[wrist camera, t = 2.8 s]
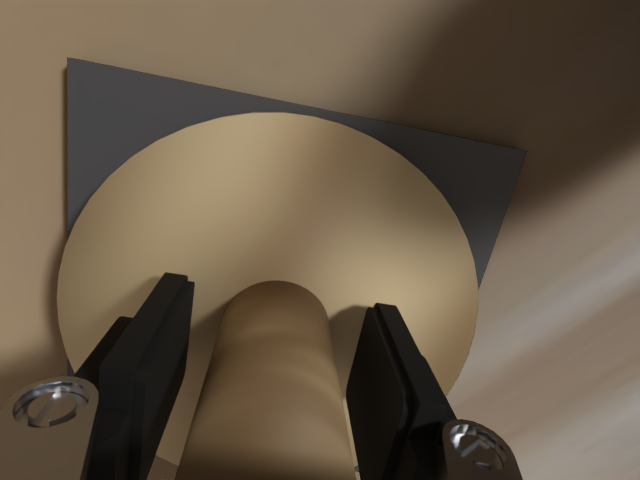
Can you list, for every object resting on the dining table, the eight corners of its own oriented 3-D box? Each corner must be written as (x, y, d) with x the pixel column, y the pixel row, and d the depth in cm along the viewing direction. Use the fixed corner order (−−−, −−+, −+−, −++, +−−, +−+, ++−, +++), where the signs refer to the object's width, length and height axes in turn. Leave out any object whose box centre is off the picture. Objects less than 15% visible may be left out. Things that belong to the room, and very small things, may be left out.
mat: (519, 149, 12) (527, 151, 11) (409, 467, 16) (412, 476, 15) (75, 58, 10) (67, 57, 10) (73, 435, 14) (68, 445, 14)
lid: (517, 157, 11) (740, 218, 6) (408, 471, 15) (480, 697, 9) (76, 67, 10) (-204, 33, 4) (73, 441, 14) (-80, 687, 8)
